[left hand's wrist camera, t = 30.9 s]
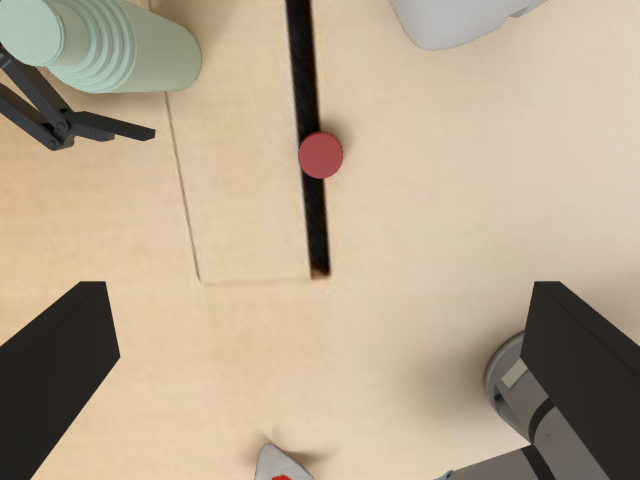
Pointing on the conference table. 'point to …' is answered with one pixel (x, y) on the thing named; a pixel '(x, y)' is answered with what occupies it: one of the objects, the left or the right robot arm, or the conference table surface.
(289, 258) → the conference table surface
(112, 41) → the bottle
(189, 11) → the conference table surface
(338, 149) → the cap
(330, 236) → the conference table surface
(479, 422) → the conference table surface
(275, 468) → the fish
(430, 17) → the projector
